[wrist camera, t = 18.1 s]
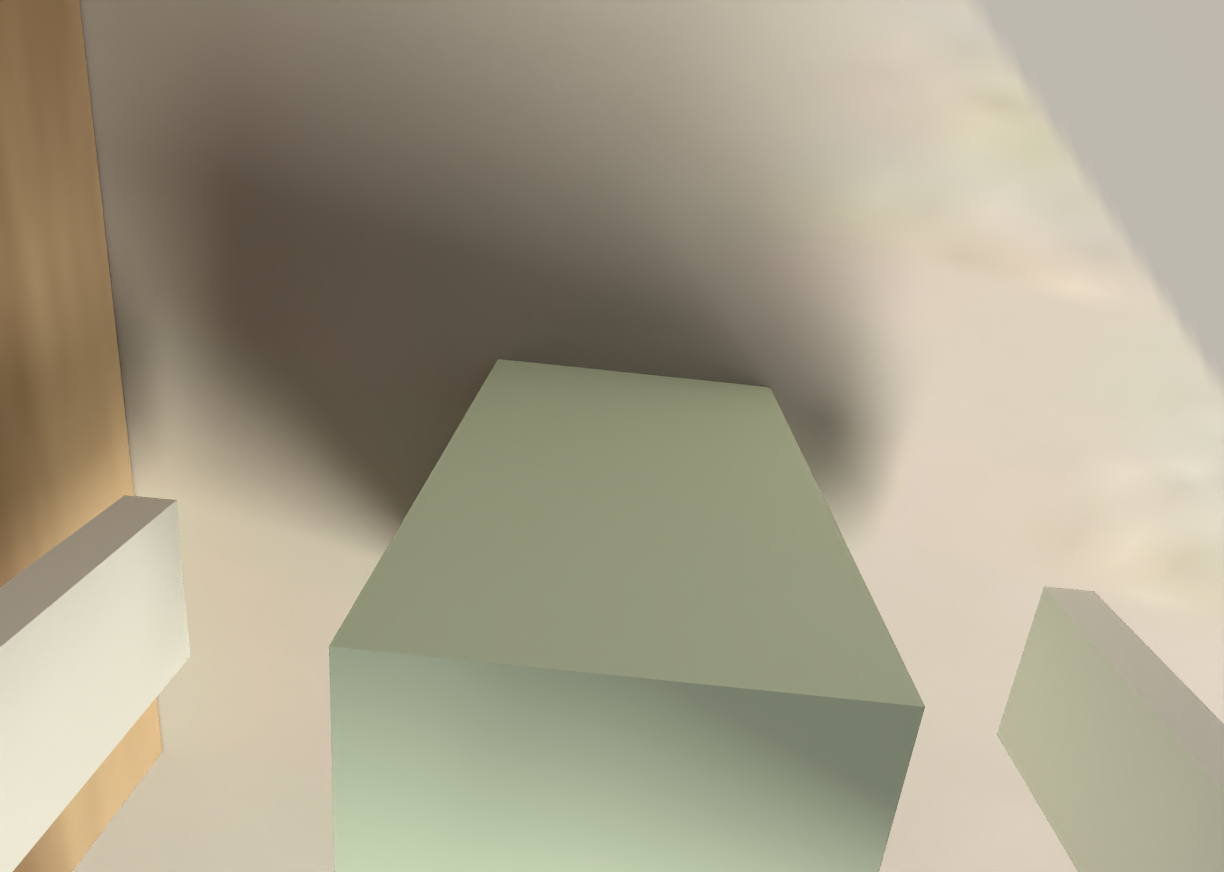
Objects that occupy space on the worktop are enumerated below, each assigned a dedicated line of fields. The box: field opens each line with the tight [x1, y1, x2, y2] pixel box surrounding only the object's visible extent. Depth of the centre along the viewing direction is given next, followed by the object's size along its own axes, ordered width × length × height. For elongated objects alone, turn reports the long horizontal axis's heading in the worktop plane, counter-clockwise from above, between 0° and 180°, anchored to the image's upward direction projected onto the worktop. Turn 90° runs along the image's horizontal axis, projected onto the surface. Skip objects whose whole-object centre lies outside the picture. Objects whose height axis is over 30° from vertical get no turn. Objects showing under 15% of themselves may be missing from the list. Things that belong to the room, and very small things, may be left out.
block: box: [329, 359, 925, 872], centre depth 12 cm, size 5×5×9 cm
